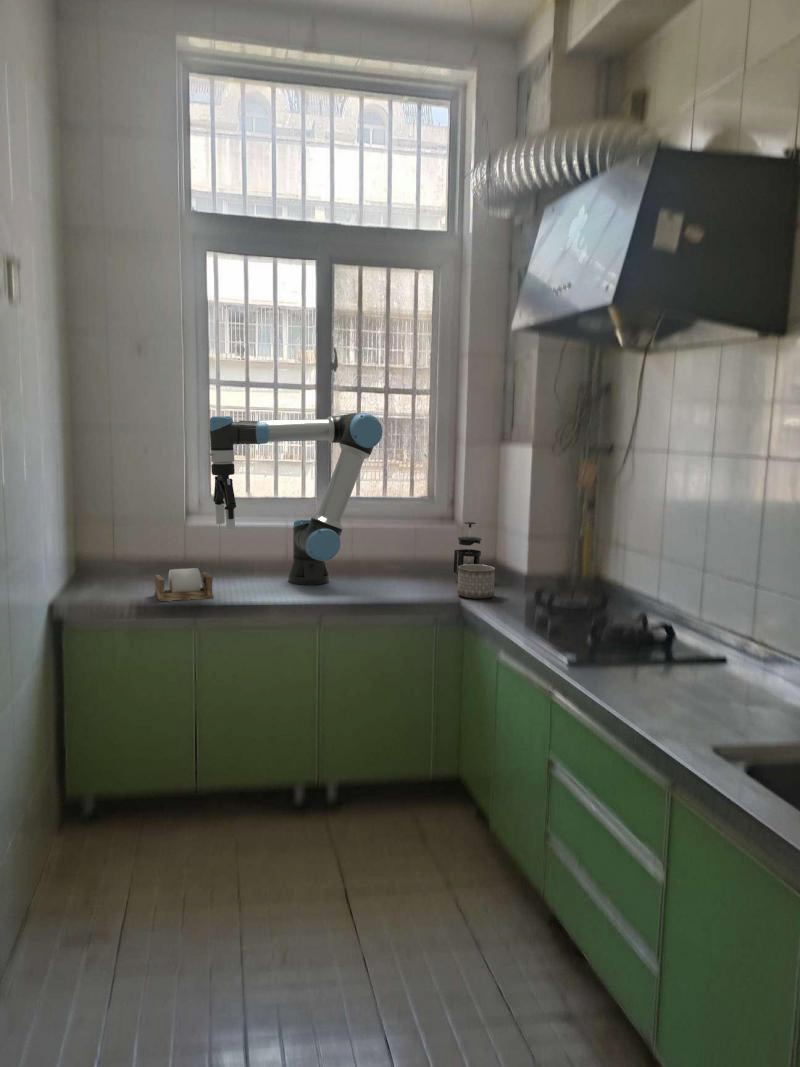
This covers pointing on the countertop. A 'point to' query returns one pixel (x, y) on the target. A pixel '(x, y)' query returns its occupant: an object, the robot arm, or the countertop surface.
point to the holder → (167, 596)
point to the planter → (476, 580)
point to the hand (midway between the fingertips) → (225, 526)
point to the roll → (184, 580)
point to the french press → (466, 551)
